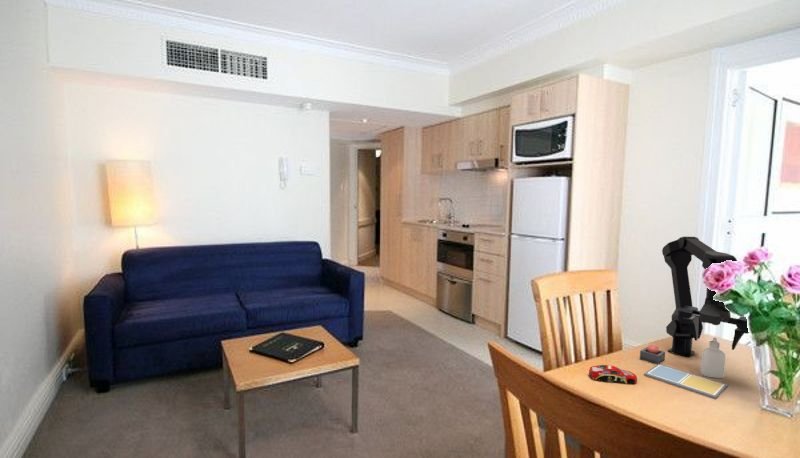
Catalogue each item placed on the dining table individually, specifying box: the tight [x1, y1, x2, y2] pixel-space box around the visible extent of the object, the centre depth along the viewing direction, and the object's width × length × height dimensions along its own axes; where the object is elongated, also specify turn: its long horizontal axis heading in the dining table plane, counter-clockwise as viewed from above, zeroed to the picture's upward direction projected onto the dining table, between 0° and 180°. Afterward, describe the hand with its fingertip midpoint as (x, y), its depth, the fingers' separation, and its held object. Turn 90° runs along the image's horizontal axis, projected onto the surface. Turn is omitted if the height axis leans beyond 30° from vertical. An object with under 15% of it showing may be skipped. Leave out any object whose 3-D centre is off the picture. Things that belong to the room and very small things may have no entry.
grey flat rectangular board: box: [643, 363, 729, 400], centre depth 119 cm, size 12×18×1 cm, turn 38°
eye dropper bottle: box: [700, 337, 726, 379], centre depth 123 cm, size 4×6×12 cm
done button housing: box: [639, 346, 666, 365], centre depth 134 cm, size 6×6×3 cm
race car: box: [588, 364, 638, 385], centre depth 120 cm, size 13×5×4 cm, turn 76°
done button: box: [646, 344, 660, 354], centre depth 134 cm, size 3×3×2 cm
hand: (714, 344), depth 122 cm, fingers open, 9 cm apart
